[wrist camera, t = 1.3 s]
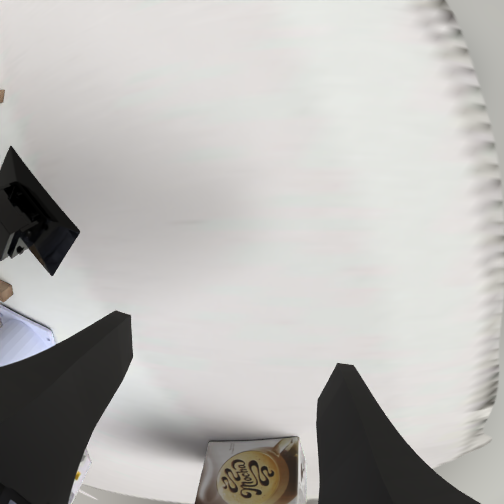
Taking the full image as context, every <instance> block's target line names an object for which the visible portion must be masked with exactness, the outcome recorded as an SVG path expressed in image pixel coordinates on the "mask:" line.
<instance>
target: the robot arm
mask: <svg viewBox="0 0 504 504" xmlns="http://www.w3.org/2000/svg"><path fill="white" fill-rule="evenodd" d="M0 318H1V322H2V325H3V326H2V327H1V328H0V504H68V502H69V498H70V494H71V490H72V487H73V483H74V480H75V477H76V473H77V470H78V468H79V465H80V462H81V459H82V457H83V454H84V451H85V449H86V446H87V444H88V442H89V439H90V437H91V434H92V432H93V430H94V428H95V426H96V424H97V423H98V421H99V419H100V418H101V416H102V414H103V413H104V411H105V409H106V408H107V406H108V404H109V403H110V401H111V399H112V398H113V396H114V394H115V393H116V391H117V389H118V388H119V386H120V384H121V382H122V381H123V379H124V377H125V374H126V372H127V370H128V368H129V365H130V363H131V361H132V358H133V349H132V331H131V315H128V314H125V313H122V312H119V311H114V312H112V313H110V314H109V315H107V316H105V317H104V318H102V319H100V320H99V321H97V322H95V323H94V324H92V325H90V326H89V327H87V328H85V329H83V330H82V331H80V332H78V333H77V334H75V335H73V336H71V337H70V338H68V339H66V340H64V341H62V342H60V343H58V344H56V345H55V341H54V337H53V334H52V332H51V330H49V329H48V328H46V327H43V326H41V325H39V324H37V323H35V322H33V321H31V320H29V319H27V318H25V317H23V316H21V315H19V314H17V313H16V312H14V311H12V310H10V309H8V308H6V307H4V306H3V305H0ZM316 428H317V443H318V458H319V474H320V488H319V501H318V504H480V503H479V502H477V501H475V500H474V499H472V498H470V497H469V496H467V495H465V494H464V493H462V492H461V491H459V490H457V489H456V488H455V487H453V486H452V485H451V484H449V483H448V482H447V481H445V480H444V479H443V478H442V477H441V476H439V475H438V474H436V472H435V471H434V470H433V469H432V468H430V467H429V466H428V465H427V464H426V463H425V462H424V461H423V460H422V459H421V458H420V457H419V456H418V455H417V454H416V453H415V452H414V450H413V449H412V448H411V447H410V446H409V445H408V444H407V443H406V441H405V440H404V439H403V438H402V436H401V435H400V434H399V433H398V431H397V430H396V429H395V427H394V426H393V425H392V423H391V422H390V421H389V419H388V418H387V416H386V415H385V413H384V412H383V410H382V409H381V407H380V406H379V404H378V403H377V401H376V400H375V398H374V397H373V395H372V394H371V392H370V390H369V389H368V387H367V386H366V384H365V382H364V381H363V379H362V378H361V376H360V374H359V373H358V371H357V370H356V368H355V367H354V365H348V364H341V363H337V365H336V367H335V369H334V371H333V373H332V374H331V376H330V378H329V380H328V382H327V384H326V386H325V388H324V389H323V391H322V393H321V395H320V397H319V398H318V403H317V421H316Z"/></svg>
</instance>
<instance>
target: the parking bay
mask: <svg viewBox="0 0 504 504" xmlns="http://www.w3.org/2000/svg"><path fill="white" fill-rule="evenodd" d="M4 91H5V90H0V103H2V102H3V98H4ZM12 295H13V291H12V286H11V285H10V284H8V283H6V282H4V281H2V280H0V301H2V302H5V301H6V300H7V299H8V298H9V297H11V296H12Z"/></svg>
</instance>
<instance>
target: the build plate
mask: <svg viewBox="0 0 504 504" xmlns="http://www.w3.org/2000/svg"><path fill="white" fill-rule="evenodd" d="M79 234H80V230H79V229H78V228H77V227H76V226H75V225H74V223H73V222H72V221H71V220H70V219H69V218H68V217H67V215H66V214H65V213H64V212H63V211H62V210H61V208H60V207H59V206H58V205H57V204H56V203H55V201H54V200H53V199H52V198H51V197H50V195H49V194H48V193H47V192H46V190H45V189H44V188H43V187H42V185H41V184H40V183H39V182H38V180H37V179H36V178H35V177H34V175H33V174H32V173H31V171H30V170H29V169H28V168H27V166H26V165H25V164H24V162H23V161H22V160H21V158H20V157H19V156H18V154H17V153H16V151H15V150H14V149H13V147H12V146H10V148H9V150H8V152H7V155H6V157H5V159H4V162H3V164H2V167H1V170H0V261H2V260H4V259H5V258H7V257H8V256H10V257H11V259H12V258H13V257H15V256H16V255H18V254H22V253H23V251H24V250H26V249H27V248H29V250H30V251H31V252H32V253H33V254H34V256H35V257H36V258H37V259H38V261H39V262H40V263H41V264H42V265H43V266H44V268H45V269H46V270H47V271H48V272H49V273H50V275H51V276H53V275H54V273H55V272H56V270H57V268H58V267H59V265H60V263H61V262H62V260H63V258H64V257H65V255H66V254H67V252H68V250H69V249H70V247H71V246H72V244H73V243H74V241H75V240H76V238H77V237H78V235H79Z"/></svg>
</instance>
